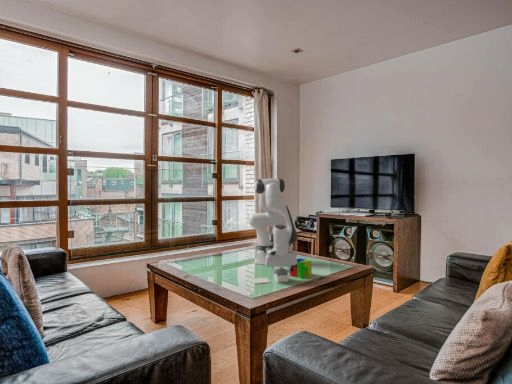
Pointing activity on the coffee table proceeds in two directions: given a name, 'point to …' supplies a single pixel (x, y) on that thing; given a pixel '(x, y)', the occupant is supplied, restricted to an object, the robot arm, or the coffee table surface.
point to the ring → (281, 272)
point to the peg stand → (281, 277)
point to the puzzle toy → (301, 269)
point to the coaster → (260, 280)
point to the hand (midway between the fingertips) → (281, 273)
